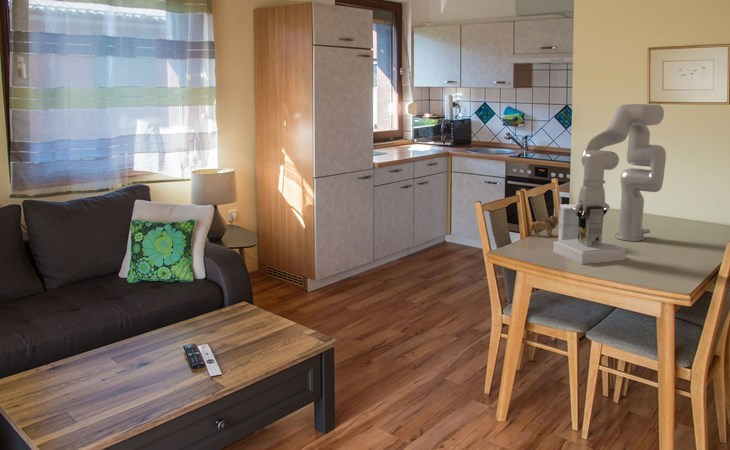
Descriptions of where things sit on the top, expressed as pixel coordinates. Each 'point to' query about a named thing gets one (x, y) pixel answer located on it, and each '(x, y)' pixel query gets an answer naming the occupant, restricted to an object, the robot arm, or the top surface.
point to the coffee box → (592, 227)
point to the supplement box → (568, 222)
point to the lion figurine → (544, 225)
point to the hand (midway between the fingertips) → (590, 226)
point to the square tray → (588, 251)
